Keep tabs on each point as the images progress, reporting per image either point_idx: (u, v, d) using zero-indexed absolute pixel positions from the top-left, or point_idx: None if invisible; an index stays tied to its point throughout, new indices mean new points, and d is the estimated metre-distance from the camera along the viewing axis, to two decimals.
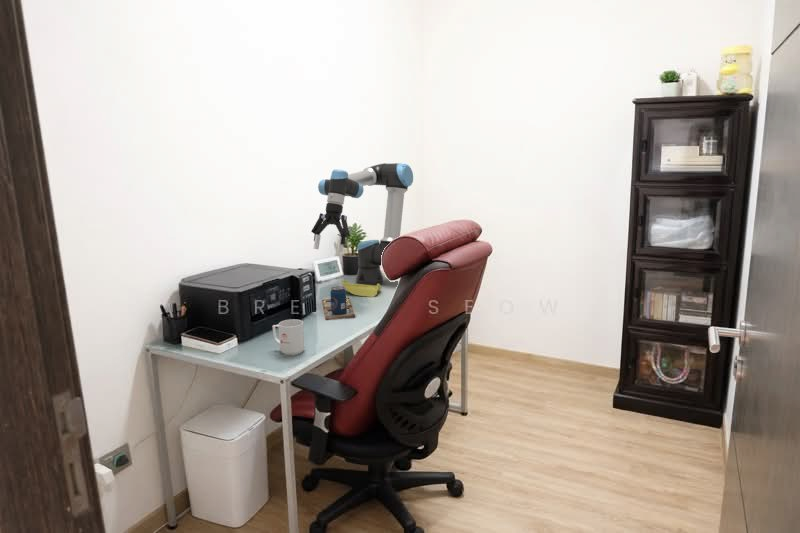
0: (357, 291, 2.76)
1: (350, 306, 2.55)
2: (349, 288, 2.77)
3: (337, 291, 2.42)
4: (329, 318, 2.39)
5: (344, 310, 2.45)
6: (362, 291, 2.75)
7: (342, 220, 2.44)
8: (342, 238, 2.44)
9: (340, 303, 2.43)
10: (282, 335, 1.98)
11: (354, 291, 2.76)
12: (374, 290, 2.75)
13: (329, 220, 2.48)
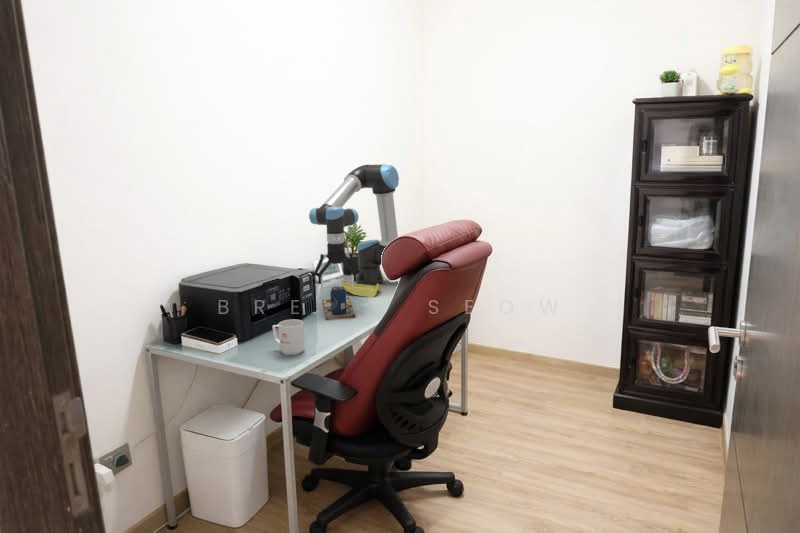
0: (357, 291, 2.76)
1: (350, 306, 2.55)
2: (349, 288, 2.77)
3: (337, 291, 2.42)
4: (329, 318, 2.39)
5: (344, 310, 2.45)
6: (362, 291, 2.75)
7: (351, 258, 2.42)
8: (354, 275, 2.44)
9: (340, 303, 2.43)
10: (282, 335, 1.98)
11: (354, 291, 2.76)
12: (374, 290, 2.75)
13: (334, 260, 2.41)
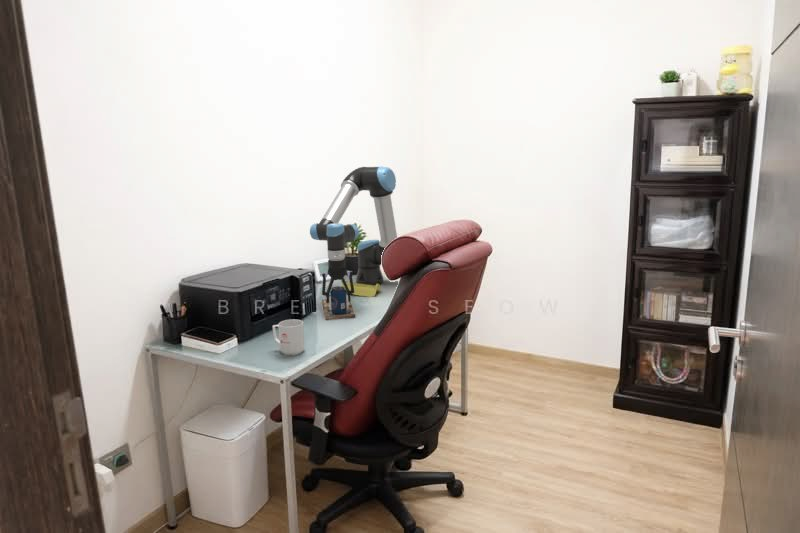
0: (356, 291, 2.76)
1: (350, 306, 2.55)
2: (348, 288, 2.78)
3: (337, 291, 2.42)
4: (329, 318, 2.39)
5: (344, 310, 2.45)
6: (361, 291, 2.76)
7: (350, 277, 2.44)
8: (349, 295, 2.46)
9: (340, 303, 2.43)
10: (282, 335, 1.98)
11: None
12: (373, 290, 2.75)
13: (335, 276, 2.43)
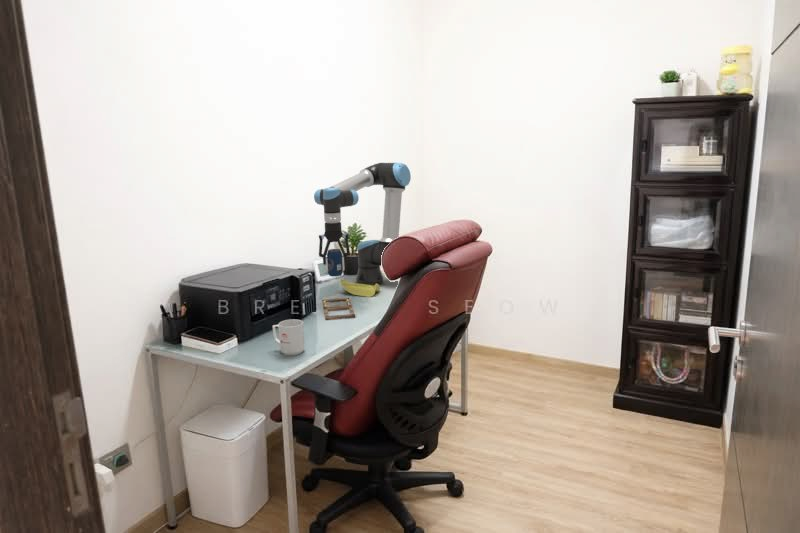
0: (355, 291, 2.76)
1: (350, 306, 2.55)
2: (348, 288, 2.78)
3: (333, 252, 2.52)
4: (329, 318, 2.39)
5: (340, 271, 2.55)
6: (360, 291, 2.76)
7: (346, 239, 2.54)
8: (345, 257, 2.56)
9: (336, 264, 2.53)
10: (282, 335, 1.98)
11: (352, 291, 2.77)
12: (372, 290, 2.75)
13: (332, 239, 2.53)
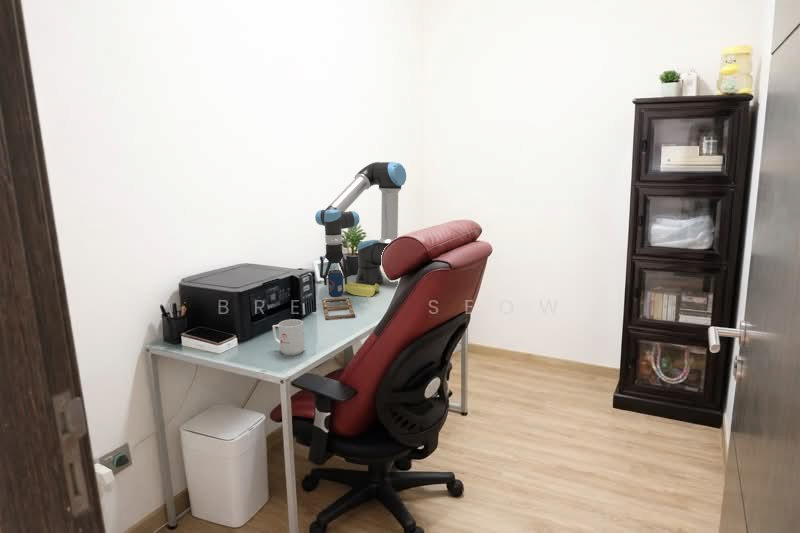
0: (355, 291, 2.76)
1: (350, 306, 2.55)
2: (347, 288, 2.78)
3: (334, 274, 2.55)
4: (329, 318, 2.39)
5: (341, 292, 2.57)
6: (360, 291, 2.76)
7: (347, 261, 2.56)
8: (345, 278, 2.58)
9: (337, 285, 2.55)
10: (282, 335, 1.98)
11: (352, 291, 2.77)
12: (372, 290, 2.75)
13: (333, 260, 2.55)
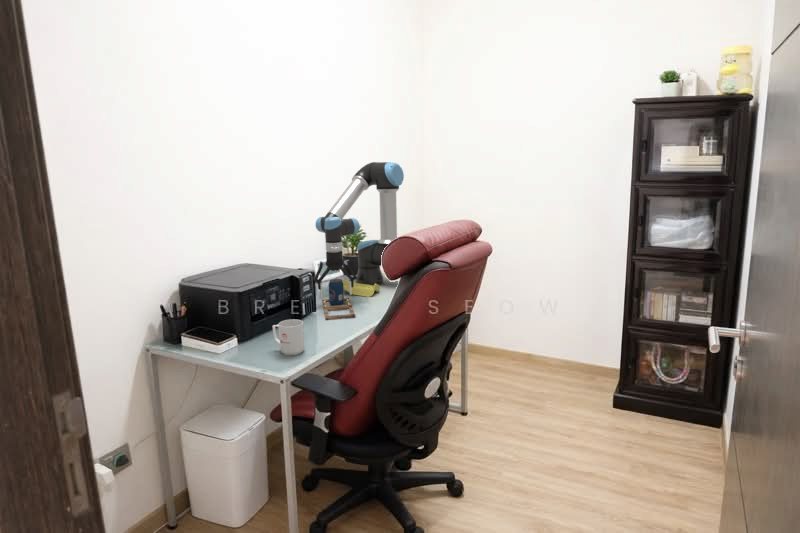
0: (354, 291, 2.77)
1: (350, 306, 2.55)
2: (347, 287, 2.79)
3: (335, 283, 2.56)
4: (329, 318, 2.39)
5: (341, 301, 2.58)
6: (359, 291, 2.76)
7: (349, 265, 2.57)
8: (352, 282, 2.59)
9: (337, 294, 2.57)
10: (282, 335, 1.98)
11: (352, 290, 2.77)
12: (371, 290, 2.75)
13: (333, 267, 2.56)
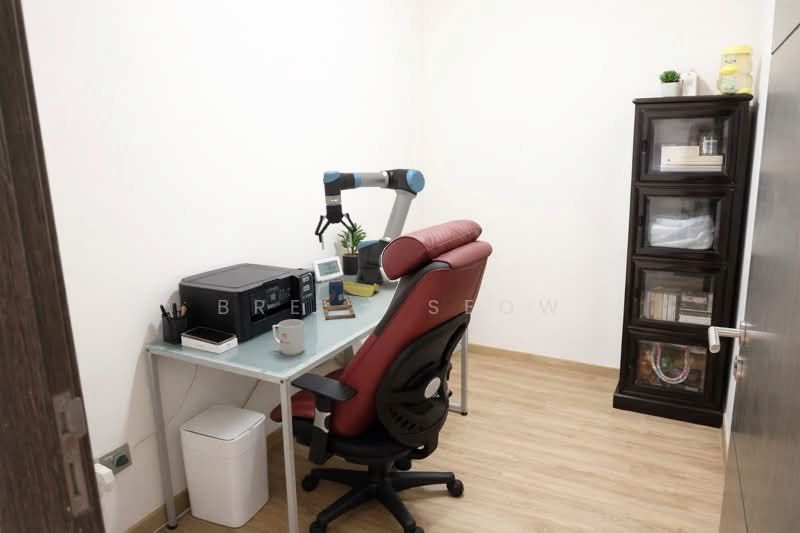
0: (354, 291, 2.77)
1: (350, 306, 2.55)
2: (347, 287, 2.79)
3: (335, 283, 2.56)
4: (329, 318, 2.39)
5: (341, 301, 2.58)
6: (359, 291, 2.76)
7: (348, 218, 2.64)
8: (352, 234, 2.66)
9: (337, 294, 2.56)
10: (282, 335, 1.98)
11: (351, 290, 2.77)
12: (371, 290, 2.75)
13: (333, 220, 2.62)
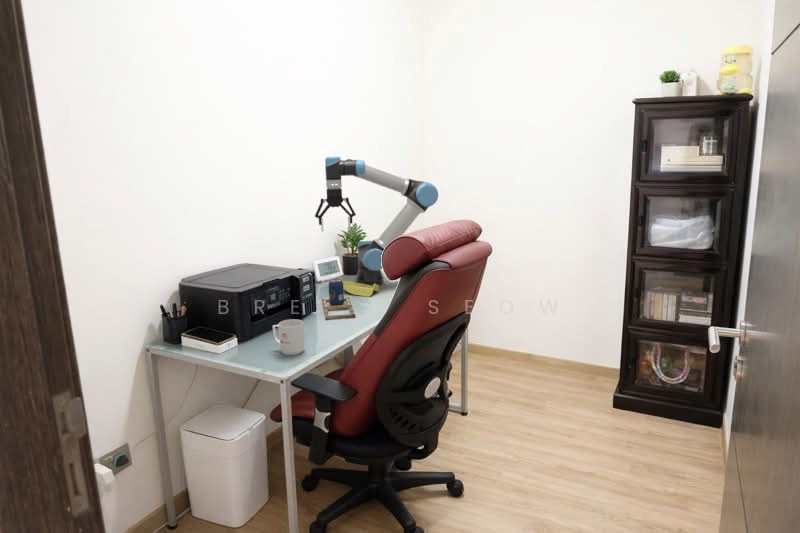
0: (354, 291, 2.77)
1: (350, 306, 2.55)
2: (346, 287, 2.79)
3: (335, 283, 2.56)
4: (329, 318, 2.39)
5: (341, 301, 2.58)
6: (358, 290, 2.77)
7: (348, 202, 2.74)
8: (351, 218, 2.77)
9: (337, 294, 2.57)
10: (282, 335, 1.98)
11: (351, 290, 2.78)
12: (370, 290, 2.75)
13: (333, 204, 2.73)
